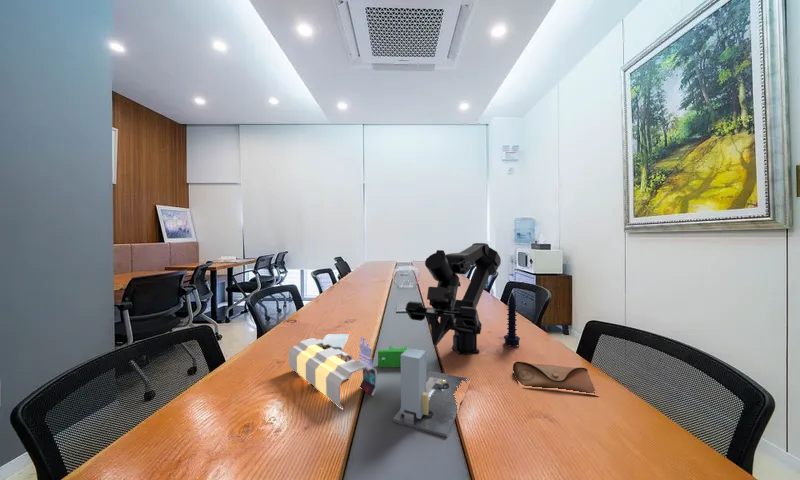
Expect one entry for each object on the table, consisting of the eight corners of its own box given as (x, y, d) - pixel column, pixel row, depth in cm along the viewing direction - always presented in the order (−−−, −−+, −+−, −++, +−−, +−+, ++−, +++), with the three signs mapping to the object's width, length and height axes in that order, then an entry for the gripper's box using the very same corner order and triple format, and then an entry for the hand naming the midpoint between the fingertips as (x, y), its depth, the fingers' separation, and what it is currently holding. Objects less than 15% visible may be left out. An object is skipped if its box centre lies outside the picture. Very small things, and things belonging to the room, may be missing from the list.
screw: (516, 341, 100) (522, 347, 95) (501, 341, 100) (506, 347, 95) (516, 289, 100) (522, 292, 95) (501, 289, 100) (507, 292, 95)
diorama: (377, 395, 68) (376, 339, 68) (338, 414, 61) (337, 352, 61) (323, 361, 87) (322, 317, 86) (289, 373, 79) (288, 325, 79)
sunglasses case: (518, 388, 70) (515, 358, 73) (513, 390, 76) (511, 362, 79) (602, 397, 66) (596, 365, 69) (591, 397, 72) (586, 368, 75)
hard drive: (341, 347, 94) (348, 333, 106) (316, 347, 94) (326, 333, 106) (341, 352, 94) (348, 338, 106) (316, 352, 94) (326, 338, 106)
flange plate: (429, 372, 78) (429, 365, 78) (471, 381, 74) (471, 374, 74) (393, 421, 58) (392, 412, 58) (446, 437, 54) (446, 427, 54)
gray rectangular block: (407, 402, 63) (407, 347, 63) (430, 408, 61) (430, 351, 61) (400, 413, 59) (399, 354, 59) (424, 420, 57) (424, 359, 57)
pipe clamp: (417, 361, 86) (417, 346, 86) (417, 367, 82) (418, 351, 82) (379, 361, 86) (379, 345, 86) (377, 367, 82) (377, 351, 82)
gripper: (407, 272, 80) (390, 324, 71) (476, 275, 73) (467, 334, 63) (418, 294, 88) (403, 344, 78) (482, 300, 80) (474, 356, 70)
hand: (434, 344), depth 72 cm, fingers closed
